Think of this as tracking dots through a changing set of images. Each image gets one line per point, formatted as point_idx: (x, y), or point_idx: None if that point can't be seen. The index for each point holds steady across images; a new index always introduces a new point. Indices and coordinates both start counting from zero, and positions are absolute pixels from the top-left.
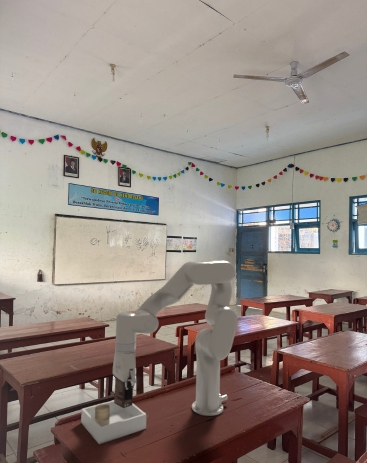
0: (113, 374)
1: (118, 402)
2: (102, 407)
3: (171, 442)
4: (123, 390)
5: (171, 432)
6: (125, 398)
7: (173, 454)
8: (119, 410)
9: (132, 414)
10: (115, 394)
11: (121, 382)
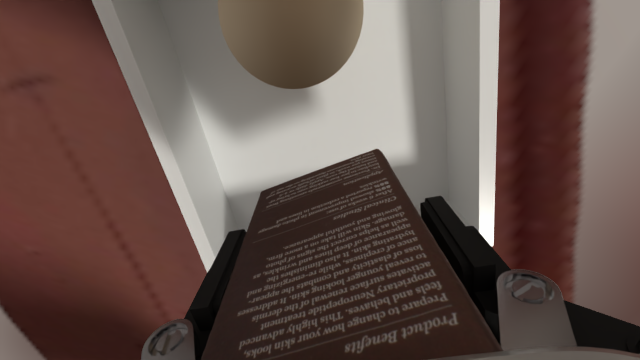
0: (601, 356)
1: (319, 178)
2: (283, 13)
3: (103, 291)
4: (239, 282)
5: (177, 314)
6: (227, 245)
7: (17, 271)
8: (449, 177)
9: None
10: (377, 184)
11: (276, 348)
